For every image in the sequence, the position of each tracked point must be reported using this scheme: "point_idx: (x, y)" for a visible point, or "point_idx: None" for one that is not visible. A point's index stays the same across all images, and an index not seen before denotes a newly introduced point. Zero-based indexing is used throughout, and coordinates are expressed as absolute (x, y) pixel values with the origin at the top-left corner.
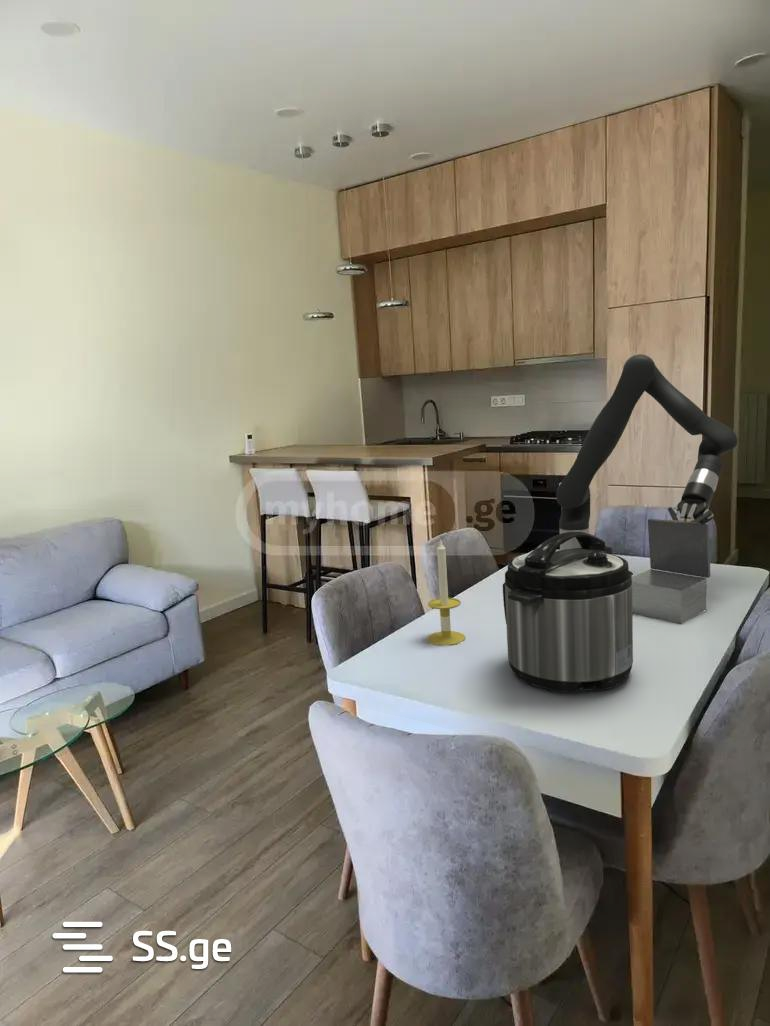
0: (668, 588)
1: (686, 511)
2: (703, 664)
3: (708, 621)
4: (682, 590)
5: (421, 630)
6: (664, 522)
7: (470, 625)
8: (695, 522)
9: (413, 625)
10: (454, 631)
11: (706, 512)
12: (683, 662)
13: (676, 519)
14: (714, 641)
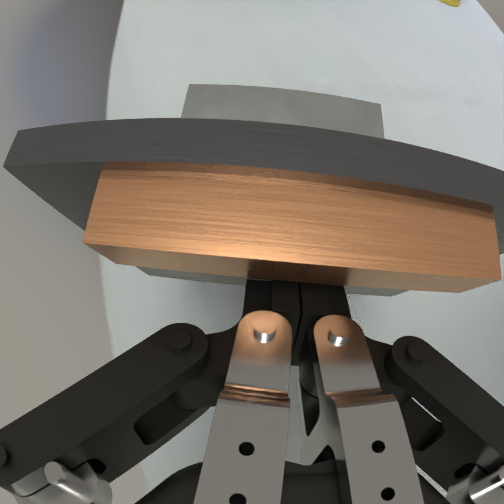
0: (230, 85)
1: (344, 500)
2: (128, 24)
3: None
4: (188, 91)
5: (475, 8)
6: (442, 159)
7: (463, 25)
8: (123, 241)
9: (492, 20)
10: (451, 3)
11: (29, 466)
12: (153, 15)
13: (413, 368)
14: (123, 92)
